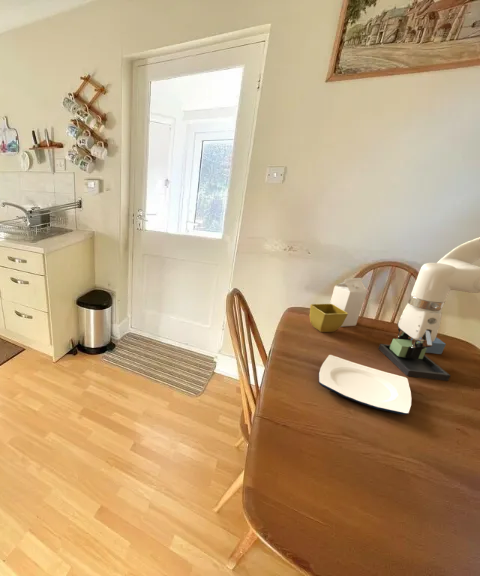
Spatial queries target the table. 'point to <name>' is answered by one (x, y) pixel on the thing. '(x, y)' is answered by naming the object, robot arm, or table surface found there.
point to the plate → (366, 385)
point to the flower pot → (326, 317)
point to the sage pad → (403, 347)
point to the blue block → (435, 346)
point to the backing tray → (415, 365)
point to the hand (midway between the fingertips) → (405, 352)
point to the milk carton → (349, 299)
